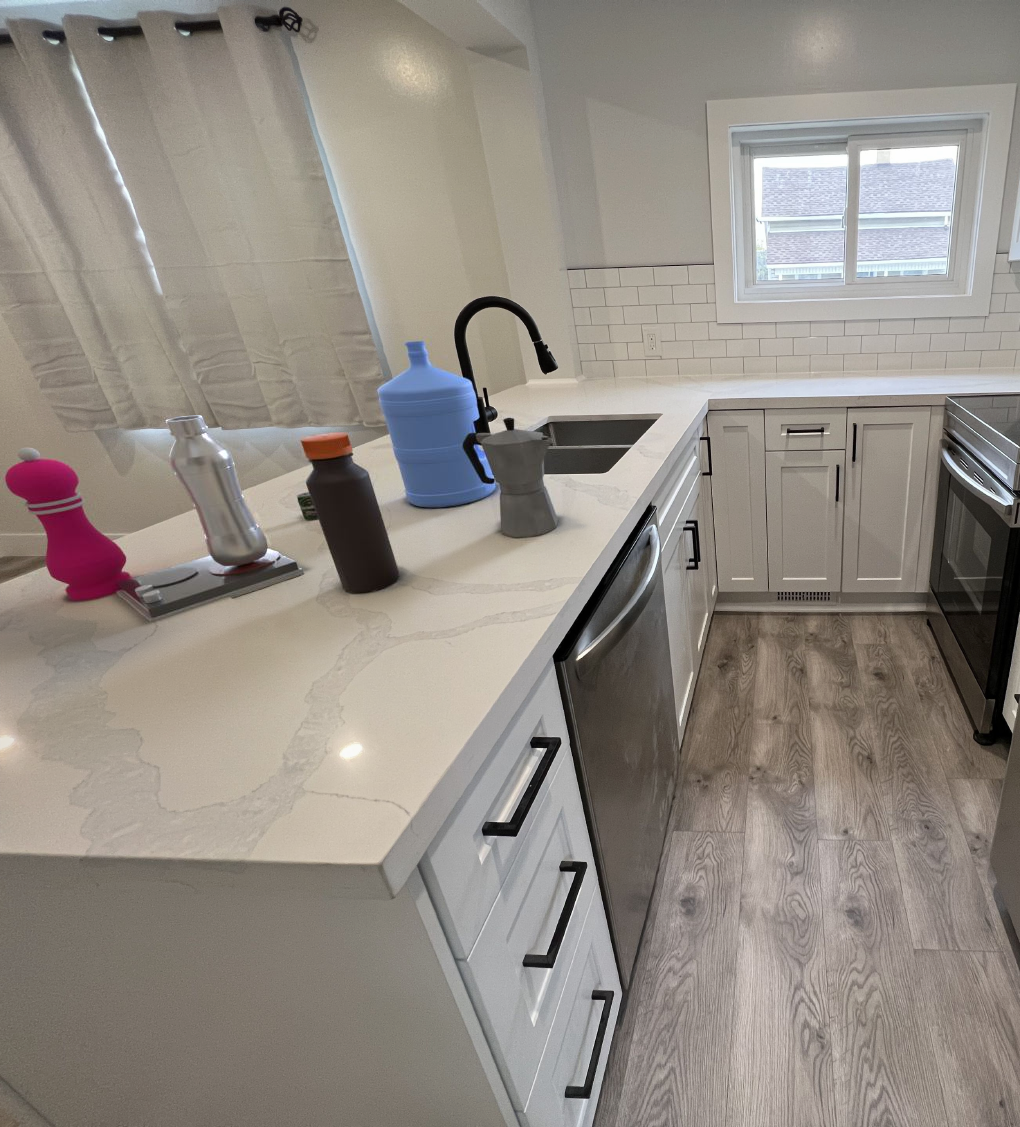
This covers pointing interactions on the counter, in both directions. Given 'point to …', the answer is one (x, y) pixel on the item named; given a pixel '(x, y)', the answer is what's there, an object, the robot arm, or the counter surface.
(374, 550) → the vinegar
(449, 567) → the counter surface
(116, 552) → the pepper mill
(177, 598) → the hob
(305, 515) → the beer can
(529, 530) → the coffeepot
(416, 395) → the water jug
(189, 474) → the silver metal bottle
